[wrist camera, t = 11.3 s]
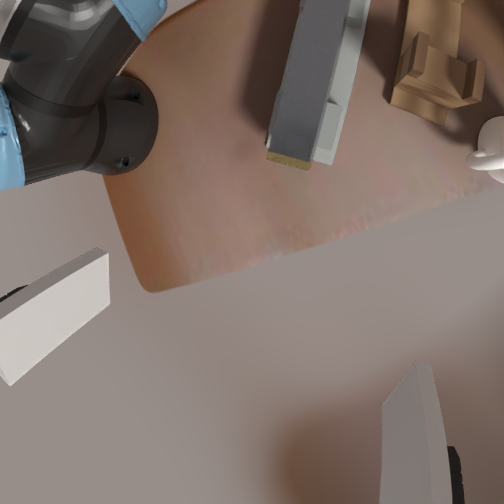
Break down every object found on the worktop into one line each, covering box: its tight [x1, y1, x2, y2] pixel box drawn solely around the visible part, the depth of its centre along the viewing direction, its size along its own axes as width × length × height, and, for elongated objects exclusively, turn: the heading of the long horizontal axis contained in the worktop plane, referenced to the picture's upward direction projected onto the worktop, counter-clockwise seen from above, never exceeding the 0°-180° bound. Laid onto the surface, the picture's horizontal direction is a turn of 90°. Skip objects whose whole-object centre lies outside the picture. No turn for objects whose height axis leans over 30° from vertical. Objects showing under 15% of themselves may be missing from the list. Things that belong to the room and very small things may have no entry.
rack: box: [389, 0, 486, 126], centre depth 18 cm, size 7×24×10 cm, turn 167°
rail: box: [266, 0, 351, 171], centre depth 24 cm, size 26×4×4 cm, turn 167°
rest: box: [266, 0, 370, 166], centre depth 27 cm, size 8×24×3 cm, turn 167°
